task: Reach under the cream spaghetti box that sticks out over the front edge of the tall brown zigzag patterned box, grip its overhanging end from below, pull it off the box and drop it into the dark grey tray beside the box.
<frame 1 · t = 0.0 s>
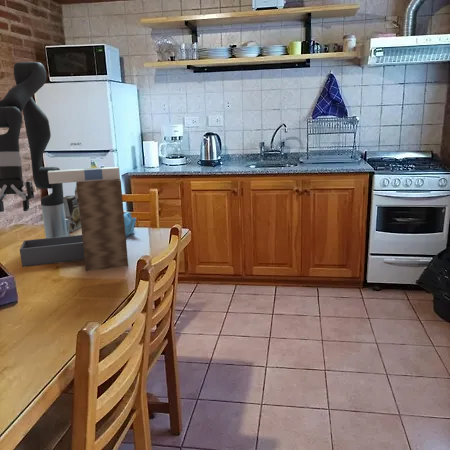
hand: (13, 211, 155), 22 cm above the table, tool pointing down, fingers open, 8 cm apart
spaghetti box: (85, 180, 157), point 32 cm above the table, touching brown zigzag patterned box
coffee box: (72, 229, 215), on the table
tray: (66, 257, 174), on the table
brown zigzag patterned box: (106, 263, 166), on the table
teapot: (118, 235, 204), on the table
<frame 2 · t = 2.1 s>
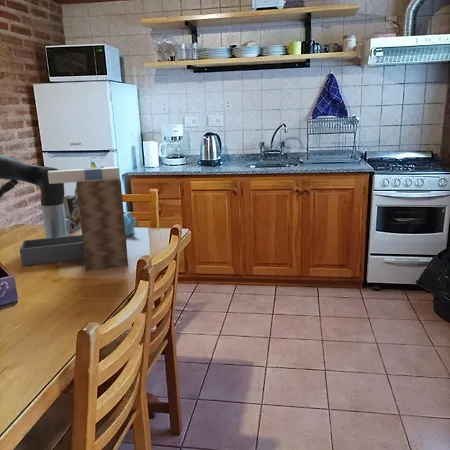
hand: (14, 182, 150), 33 cm above the table, tool pointing upward, fingers open, 8 cm apart
nothing on the table moved.
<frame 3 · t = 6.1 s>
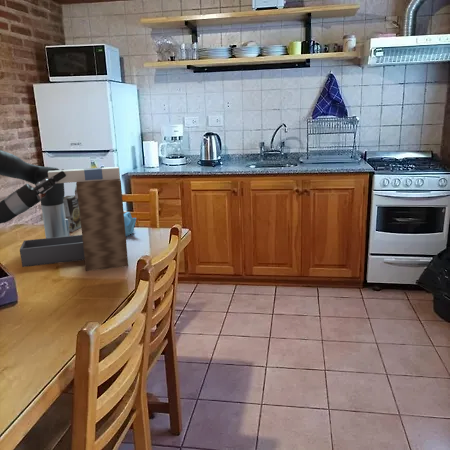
hand: (64, 172, 154), 35 cm above the table, tool pointing upward, fingers closed on spaghetti box, 4 cm apart
spaghetti box: (85, 180, 157), point 32 cm above the table, touching gripper, brown zigzag patterned box
everything else where it was.
when the fingers open (26 cm above the table, at t = 14.0 s): spaghetti box drops 20 cm and tips over, resting on tray.
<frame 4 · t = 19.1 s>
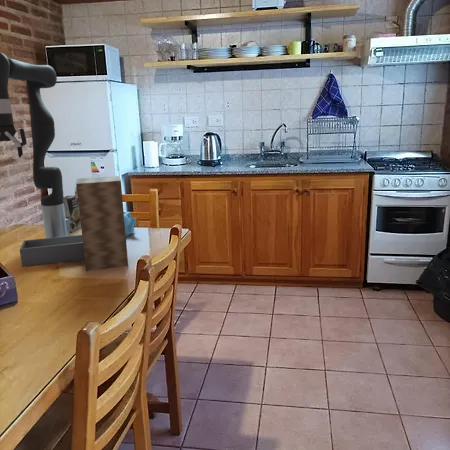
hand: (7, 157, 161), 40 cm above the table, tool pointing down, fingers open, 8 cm apart
spaghetti box: (63, 251, 172), point 3 cm above the table, tilted 90°, touching tray
everything else where it was.
at the end: spaghetti box 1.4 cm from the tray (horizontally); spaghetti box point 2.6 cm above the table; the gripper is holding nothing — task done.
